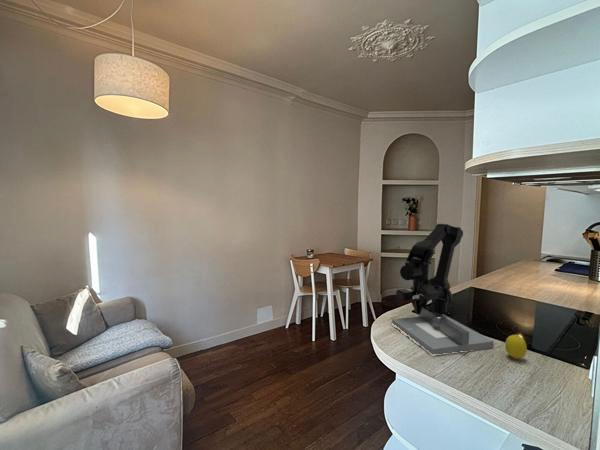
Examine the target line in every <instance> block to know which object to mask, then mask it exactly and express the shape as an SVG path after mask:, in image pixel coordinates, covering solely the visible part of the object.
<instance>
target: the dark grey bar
mask: <svg viewBox="0 0 600 450" xmlns="http://www.w3.org/2000/svg"><path fill="white" fill-rule="evenodd" d="M417 315H418V317H422V318H424V319H425V320H427V321H428V322H430V323H431V324H432V326H433V327H434V328H437V329H440V330H441V331H443V332H444V333H446V334H447V335H448V336H450V337H451V338H453V339H454V340H456V341H457V342H459V343H460V344H461V345H467V344H469V332H468V331H466V330H465V329H463V328H461V327H460V326H458V325H456V324H455V323H453V322H451V321H450V320H448V319H447V318H446V316H447V315H446V316H444V315H441V314H438V313H437V312H435V311H433V310H432V309H431V307H428V306H427V305H426V306H423V305H422V304H420V303H419V313H418V314H417Z"/></svg>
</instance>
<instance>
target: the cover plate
mask: <svg viewBox="0 0 600 450" xmlns="http://www.w3.org/2000/svg"><path fill="white" fill-rule="evenodd" d="M441 315H444V314H441ZM444 316H446V318H447V319H448V320H450V321H451V322H453V323H455V324H456V325H458V326H460V327H461V328H463V329H465V330H466V331H468V332H469V344H467V345H461V344H460V343H459V342H457V341H456V340H454V339H453V338H451V337H450V336H448V335H447V334H446V333H444V332H443V331H441V330H440V329H437V328H434V327H433V326H432V324H431V323H430V322H428V321H427V320H425V319H424V318H422V317H421V316H412V317H403V318H401V317H400V318H392V319H391V324H392V323H393V324H394V325H396V326H397V327H399V328H400V329H401V330H402V331H404V332H405V333H406V334H407V335H409V336H410V337H411V338H412V339H414V340H415V341H416V342H418V343H419V344H420V345H421V346H423V347H424V348H425V349H426V350H428V351H429V352H430V353H432V354H443V353H452V352H460V351H470V350H477V351H482V350H481V349H484V350H492V349H494V340H492V339H490V338H488V337H487V336H484V335H483V334H481V333H479V332H478V331H476V330H474V329H472V328H470V327H468V326H466V325H464V324H462V323H460V322H459V321H457V320H455V319H453V318H452V317H449V316H448V315H444ZM470 352H471V351H470Z"/></svg>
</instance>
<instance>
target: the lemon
mask: <svg viewBox="0 0 600 450" xmlns="http://www.w3.org/2000/svg"><path fill="white" fill-rule="evenodd" d="M504 347H505V351H506V353H507V354H508V355H509V356H511V358H512V359H514V360H517V359H520V358H523V357H525V356H526V355H527V354H526V353H527V351H528V350H527V349H528V348H527V347H528V346H527V343H526V341H525V339H524V338H523V337H522V336H520V335H519V334H517V333H515V334H512V335H509V336H508V337H506V340H505V344H504Z"/></svg>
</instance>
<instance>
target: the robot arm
mask: <svg viewBox="0 0 600 450" xmlns="http://www.w3.org/2000/svg"><path fill="white" fill-rule="evenodd" d="M463 236H464V232H463V230H462V228H461V227H459V226H452V225H450V224H449V223H447V224H446V223H437V224H436V225H435V228H434V229H433V230H432V231H431V232H430V233H429V234H428V235H427V236H426V237H425V238H424V240H421V241H418V242H416V243H415V244H413V246H412V247H411V249H410V251H409V254H408V255H407V258H406V261H405V263H404V265H403V266H401V268H400V270H399V274H400V277H401V278H402V279H403V280H404V281H412V286H410V290H411V291H410V290H408V289H406V288H401V289H400V288H399V289H398V288H397V290H396V291H395V297H397V298H399V299H400V300H402V301H410V303H411V305H412V307H413V310H414V311H415V314H417V315H418V313H419V303H420V304H422V305H423V306H427V304H428V303H429V302H430V309H432V310H433V311H435V312H437V313H438V314H444V315H446V316H448V315H447V314H450V315H451V313H450V312H449V303H452V302H453V300H454V299H453V297H454V295H453V294H452V291H451V290H450V288H451V285H450V282H449V280H448V279H449V274H450V270H451V266H452V260H453V256H454V253H455V248H456V246H458V245H459V244H460V243H461V241H462V238H463ZM440 242H441V243H442V246H441V250H440V255H439V260H438V264H437V268H436V274H435V275H434V277H430V279H429V269H430V265H431V264H432V262H431V260H432V258H433V256H434V255H435V248H436V247H437V246H438V244H439V243H440Z"/></svg>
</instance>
